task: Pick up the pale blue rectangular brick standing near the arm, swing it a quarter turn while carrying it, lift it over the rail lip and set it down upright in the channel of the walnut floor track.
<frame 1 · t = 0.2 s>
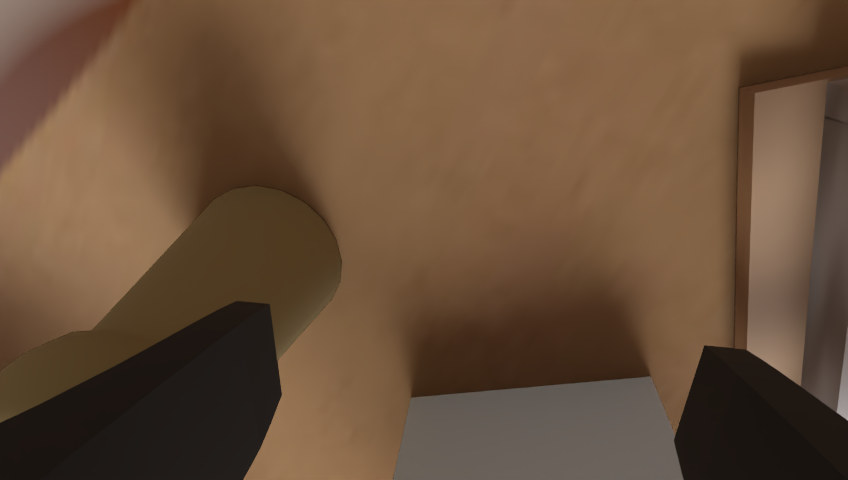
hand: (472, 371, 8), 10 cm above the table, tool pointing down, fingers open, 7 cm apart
cork: (270, 255, 20), on the table
pale blue rectangular brick: (528, 408, 21), on the table
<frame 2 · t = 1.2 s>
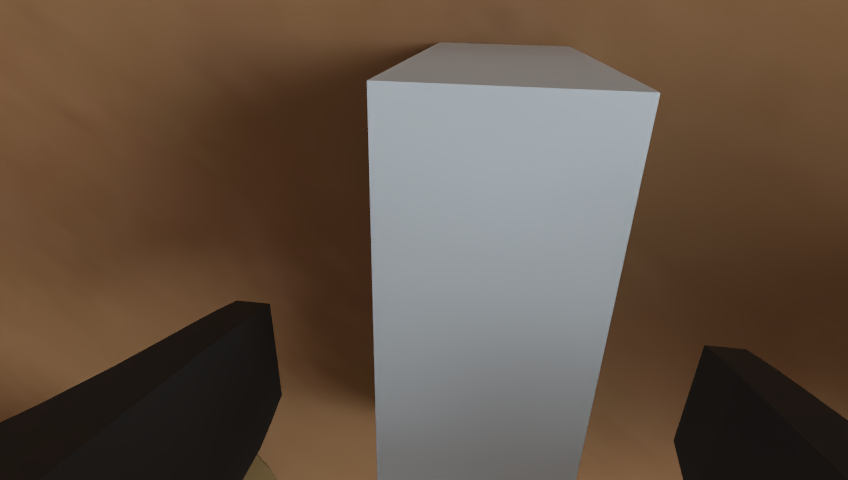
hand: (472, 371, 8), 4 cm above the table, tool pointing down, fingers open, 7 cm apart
cork: (198, 478, 17), on the table
pale blue rectangular brick: (484, 269, 12), on the table
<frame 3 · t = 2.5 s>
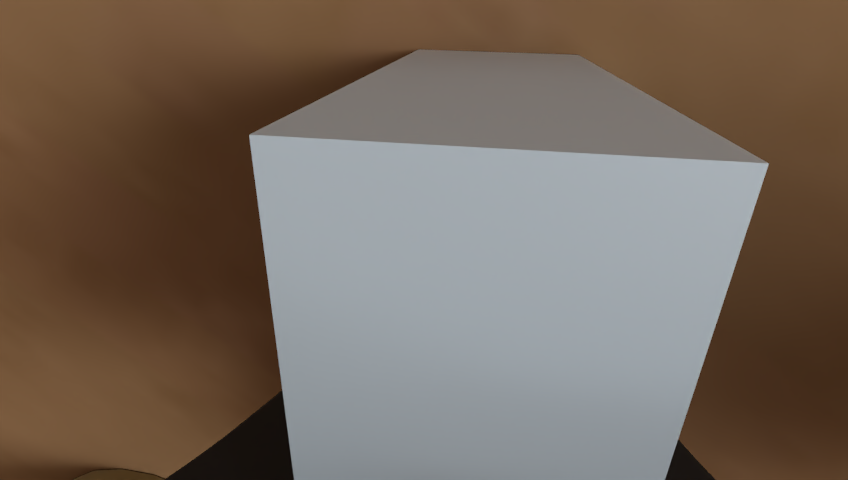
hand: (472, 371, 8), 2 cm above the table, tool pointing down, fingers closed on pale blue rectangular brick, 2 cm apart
pale blue rectangular brick: (475, 317, 10), on the table, touching gripper
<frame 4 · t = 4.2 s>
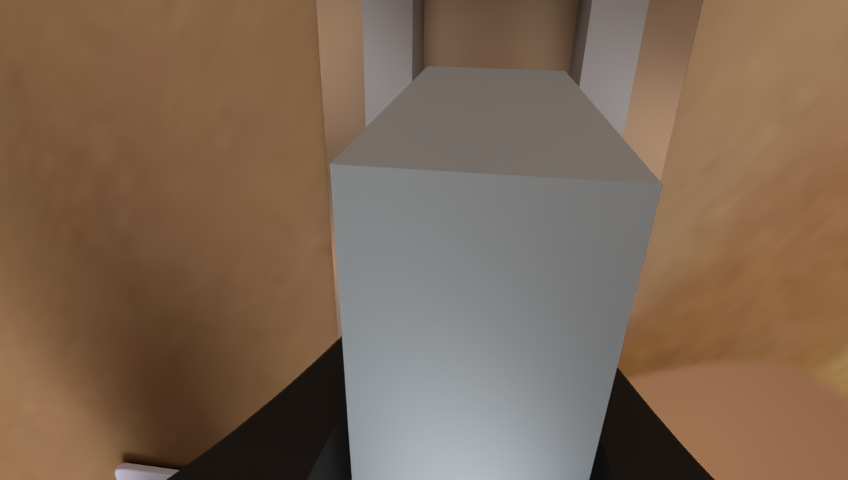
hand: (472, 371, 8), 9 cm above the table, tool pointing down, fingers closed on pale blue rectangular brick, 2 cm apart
pale blue rectangular brick: (477, 297, 11), point 6 cm above the table, touching gripper
track: (484, 197, 16), on the table
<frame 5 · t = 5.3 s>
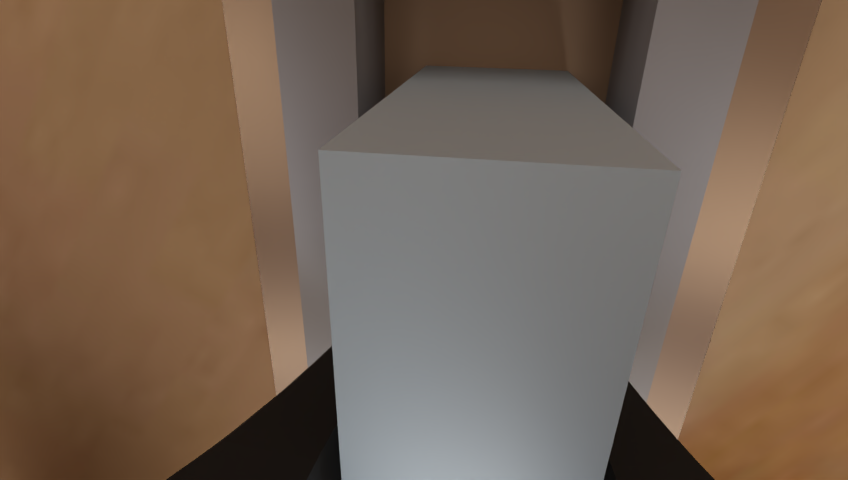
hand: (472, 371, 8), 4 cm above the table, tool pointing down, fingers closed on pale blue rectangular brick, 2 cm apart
pale blue rectangular brick: (476, 305, 11), point 1 cm above the table, touching gripper, track
track: (478, 271, 12), on the table
when the fingers open (4 cm above the table, at t = 5.7 s): pale blue rectangular brick stays where it is, resting on track.
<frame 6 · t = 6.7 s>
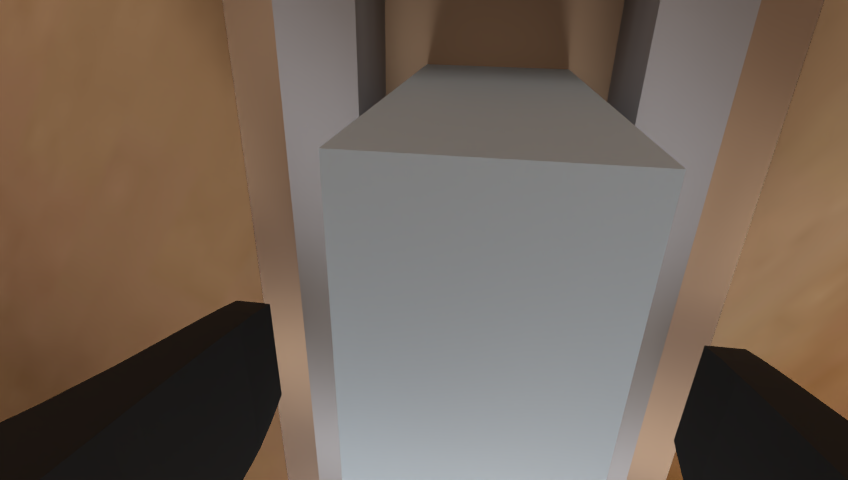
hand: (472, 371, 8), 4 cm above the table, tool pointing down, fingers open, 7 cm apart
pale blue rectangular brick: (477, 305, 11), point 1 cm above the table, touching track
track: (479, 271, 12), on the table
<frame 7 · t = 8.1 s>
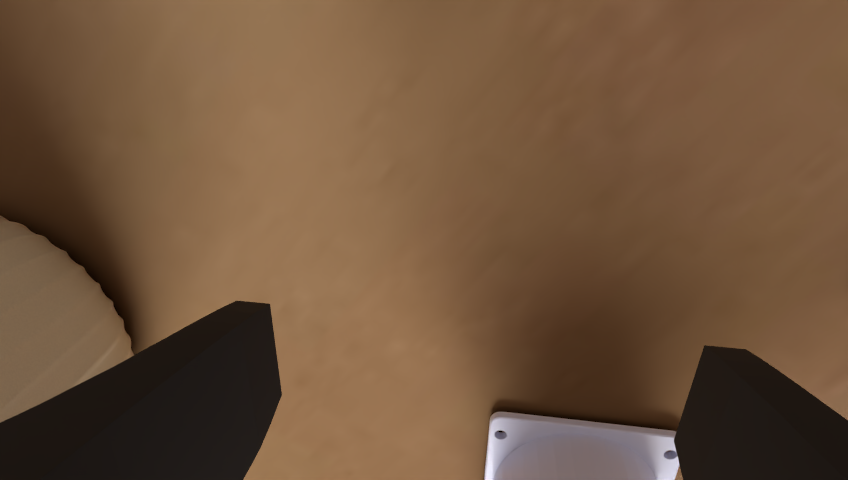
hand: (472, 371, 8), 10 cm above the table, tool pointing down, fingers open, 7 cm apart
canister: (26, 318, 23), on the table
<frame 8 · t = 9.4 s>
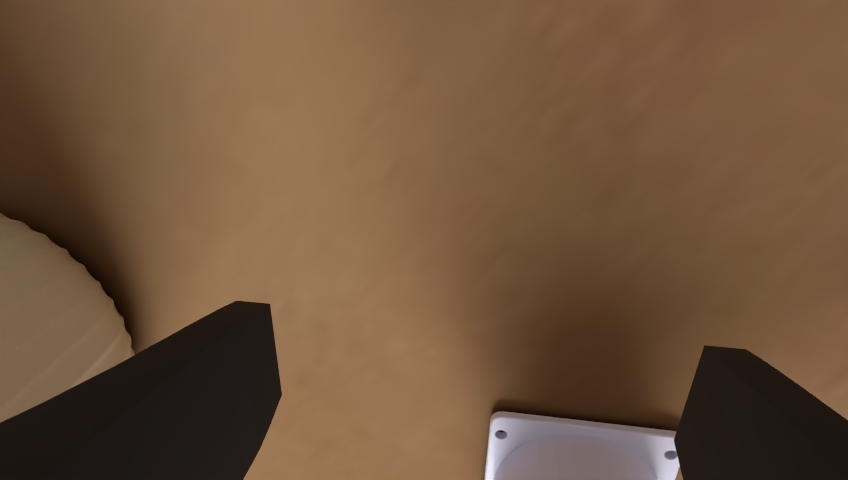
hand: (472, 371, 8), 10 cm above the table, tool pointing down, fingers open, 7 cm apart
canister: (26, 316, 23), on the table
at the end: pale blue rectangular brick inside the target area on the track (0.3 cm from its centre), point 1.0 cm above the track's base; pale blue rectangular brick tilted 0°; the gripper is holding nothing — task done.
